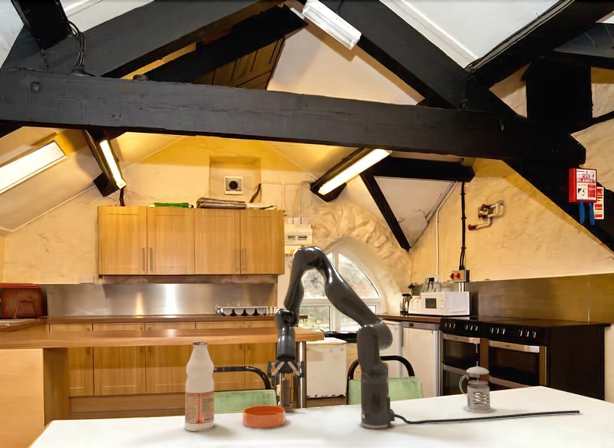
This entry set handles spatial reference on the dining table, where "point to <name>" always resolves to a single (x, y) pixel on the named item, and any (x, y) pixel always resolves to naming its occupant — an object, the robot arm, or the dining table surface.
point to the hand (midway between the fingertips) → (285, 386)
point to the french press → (481, 388)
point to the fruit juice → (199, 389)
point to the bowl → (263, 416)
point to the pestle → (286, 396)
